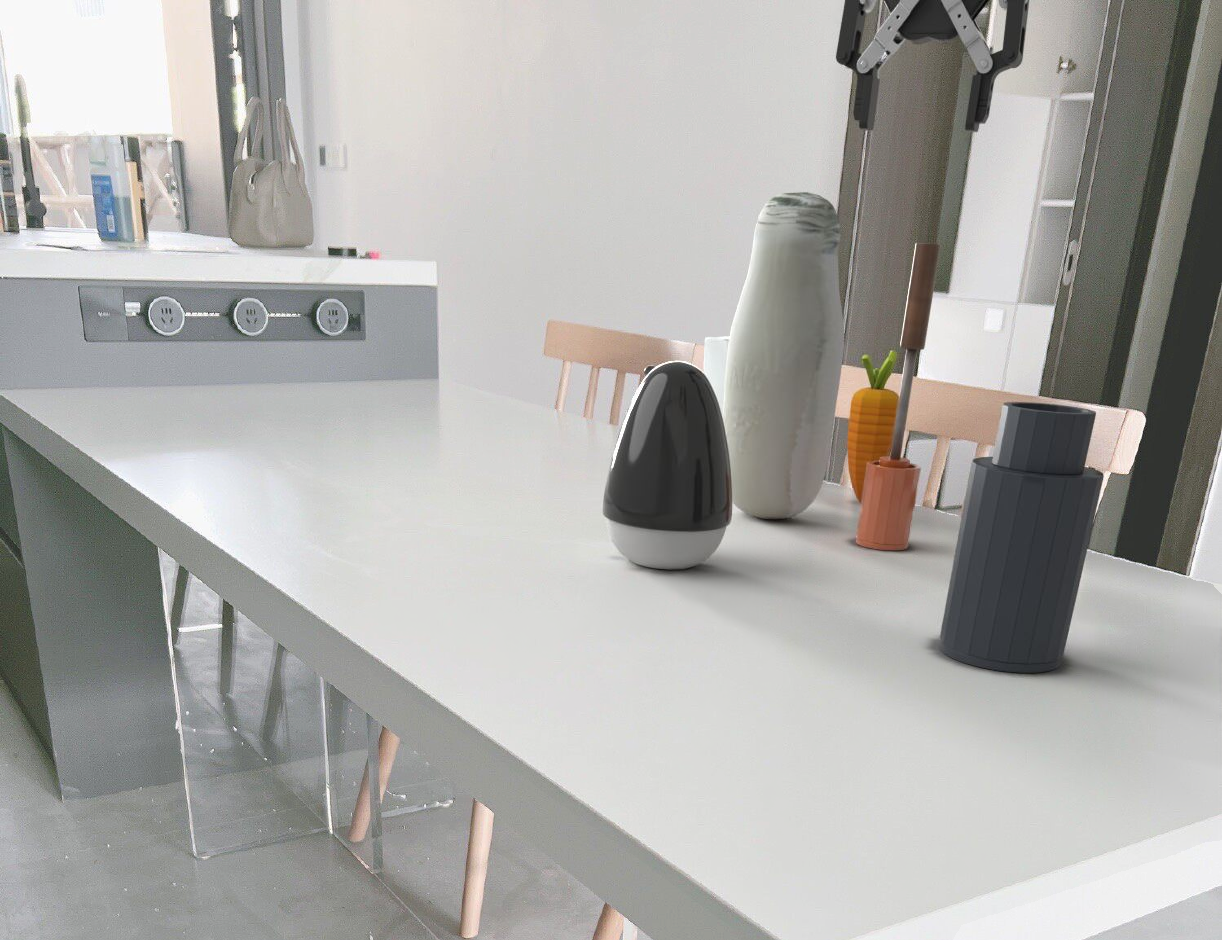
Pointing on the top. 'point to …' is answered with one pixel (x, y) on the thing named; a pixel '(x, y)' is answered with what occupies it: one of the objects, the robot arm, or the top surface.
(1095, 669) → the top surface
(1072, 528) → the steel bottle
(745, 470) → the pale grey bottle
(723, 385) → the cosmetic box
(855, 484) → the carrot
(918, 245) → the bottle brush
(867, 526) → the cup
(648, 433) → the dark egg shaped ornament
